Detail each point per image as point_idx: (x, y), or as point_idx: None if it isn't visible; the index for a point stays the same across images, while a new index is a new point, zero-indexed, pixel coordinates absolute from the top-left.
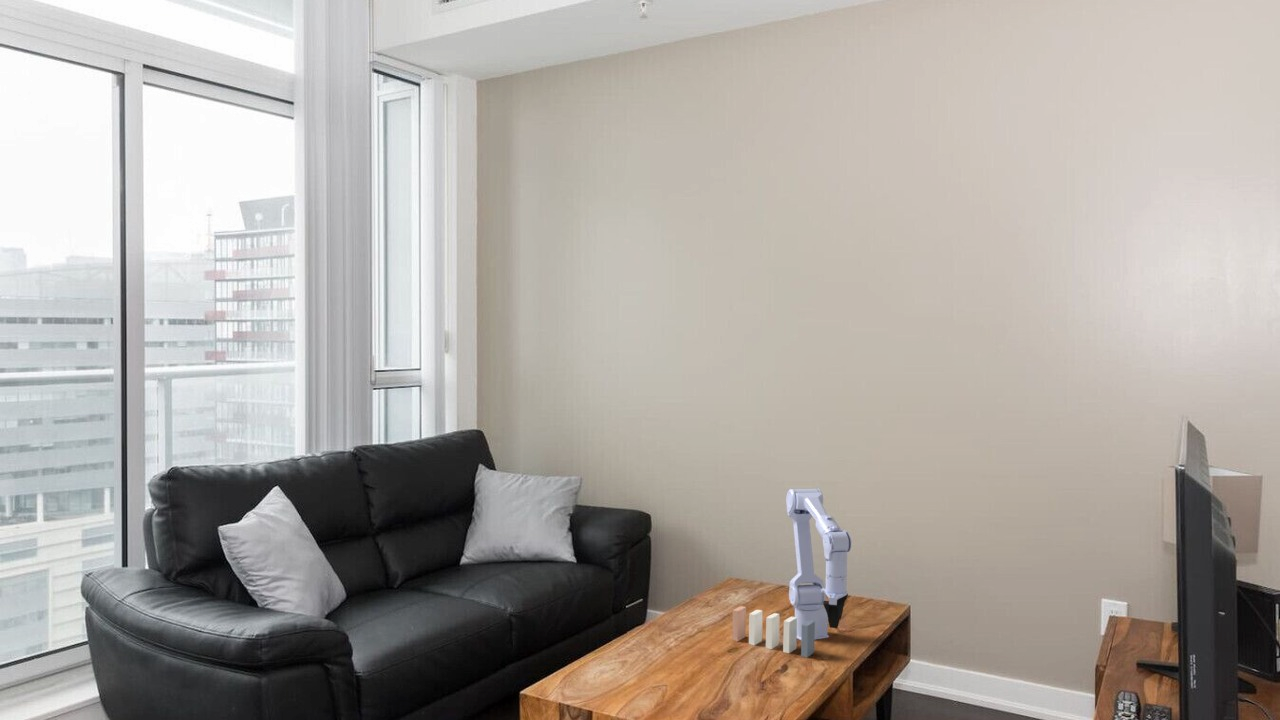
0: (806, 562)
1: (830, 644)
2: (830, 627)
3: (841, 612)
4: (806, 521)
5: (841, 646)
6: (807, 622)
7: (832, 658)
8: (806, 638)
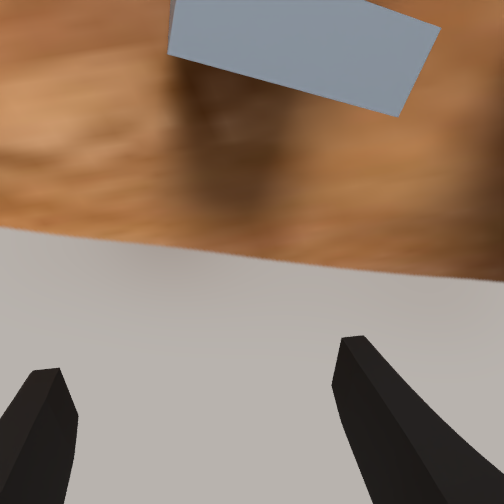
0: None
1: (475, 120)
2: (28, 377)
3: (358, 461)
4: None
5: (444, 182)
6: (329, 23)
7: (237, 168)
8: (171, 10)
